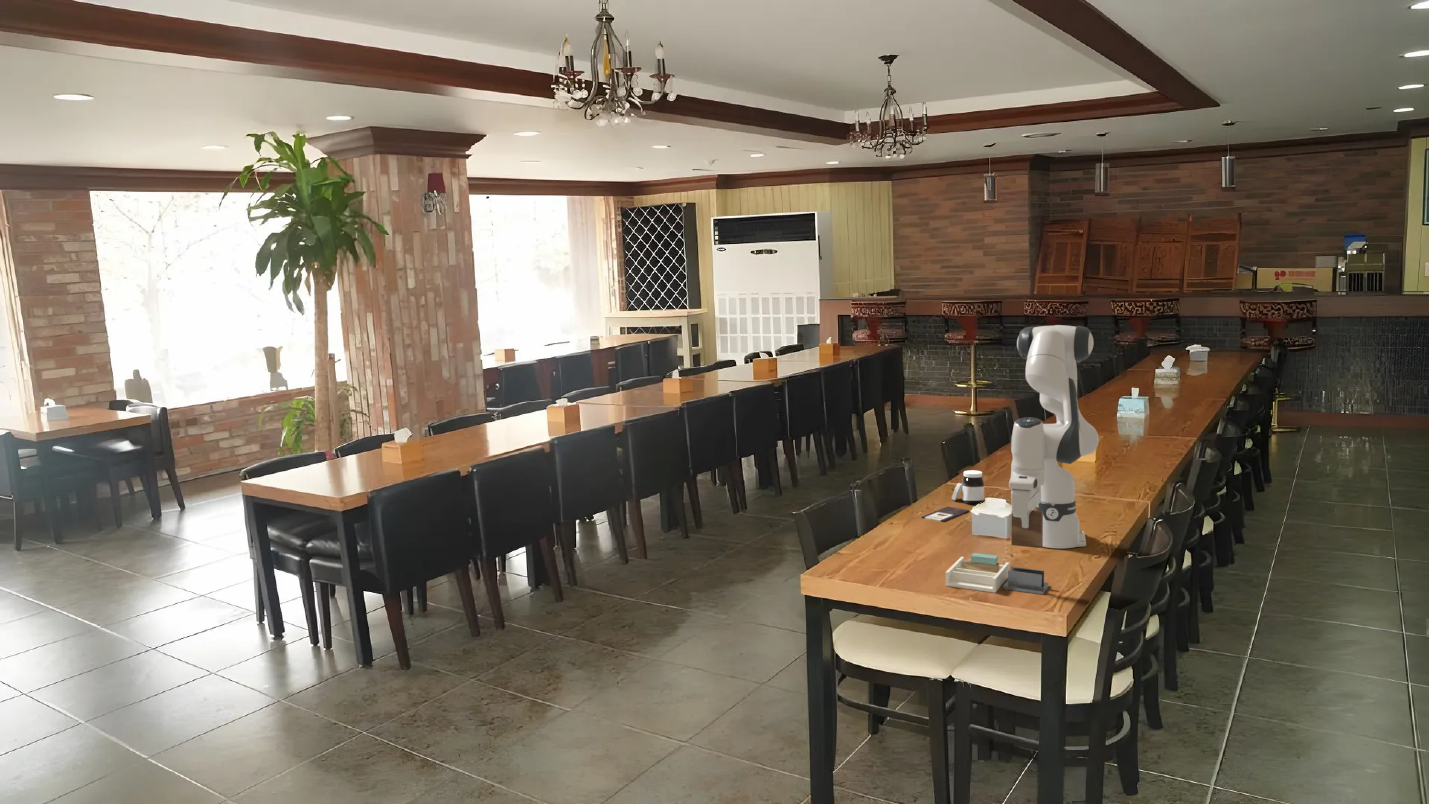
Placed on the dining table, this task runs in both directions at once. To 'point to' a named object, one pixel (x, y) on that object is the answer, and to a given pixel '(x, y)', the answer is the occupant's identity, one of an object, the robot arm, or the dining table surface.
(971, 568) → the oak offcut
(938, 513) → the chocolate bar
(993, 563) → the teal offcut
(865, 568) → the dining table surface
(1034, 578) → the stand
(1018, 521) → the walnut board
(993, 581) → the rack
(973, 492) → the spread jar
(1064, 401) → the robot arm
